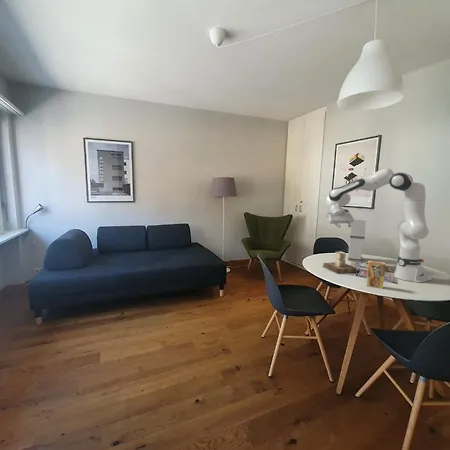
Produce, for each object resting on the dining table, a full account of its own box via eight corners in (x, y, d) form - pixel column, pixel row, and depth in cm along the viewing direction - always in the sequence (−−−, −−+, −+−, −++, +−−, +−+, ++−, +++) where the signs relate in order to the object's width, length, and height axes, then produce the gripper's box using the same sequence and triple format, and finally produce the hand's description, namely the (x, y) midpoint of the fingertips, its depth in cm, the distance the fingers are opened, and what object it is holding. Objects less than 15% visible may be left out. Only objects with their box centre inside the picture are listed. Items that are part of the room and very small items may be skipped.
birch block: (340, 264, 194) (341, 251, 193) (344, 266, 189) (345, 253, 188) (334, 264, 193) (335, 251, 192) (338, 266, 188) (339, 253, 187)
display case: (362, 262, 212) (366, 220, 207) (348, 260, 217) (351, 219, 212) (361, 258, 222) (365, 218, 217) (348, 257, 227) (351, 217, 222)
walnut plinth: (341, 265, 201) (341, 261, 201) (356, 272, 186) (356, 268, 185) (323, 266, 197) (323, 263, 197) (336, 273, 182) (337, 269, 182)
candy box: (382, 286, 158) (385, 262, 156) (383, 288, 155) (385, 264, 153) (366, 283, 163) (368, 260, 160) (366, 286, 159) (368, 262, 157)
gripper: (327, 210, 195) (335, 224, 187) (350, 210, 200) (358, 224, 192) (323, 215, 200) (330, 229, 192) (346, 215, 205) (353, 229, 197)
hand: (344, 227), depth 192 cm, fingers open, 8 cm apart
